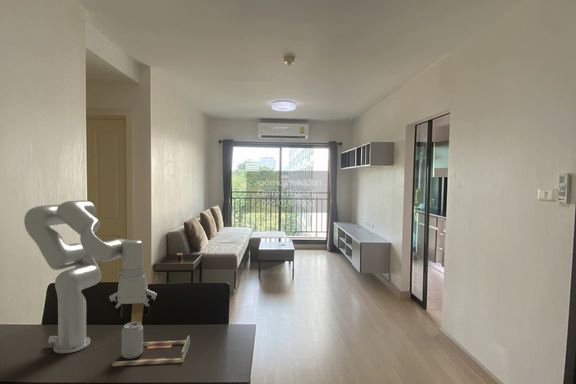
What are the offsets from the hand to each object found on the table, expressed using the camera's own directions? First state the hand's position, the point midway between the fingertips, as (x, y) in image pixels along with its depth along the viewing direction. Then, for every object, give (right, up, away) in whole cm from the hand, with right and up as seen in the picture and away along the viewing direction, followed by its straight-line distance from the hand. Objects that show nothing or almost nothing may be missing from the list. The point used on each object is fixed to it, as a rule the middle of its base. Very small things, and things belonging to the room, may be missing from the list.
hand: (133, 316), depth 126 cm
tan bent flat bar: (+7, -15, +1) cm, 17 cm away
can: (-1, -15, 0) cm, 15 cm away
